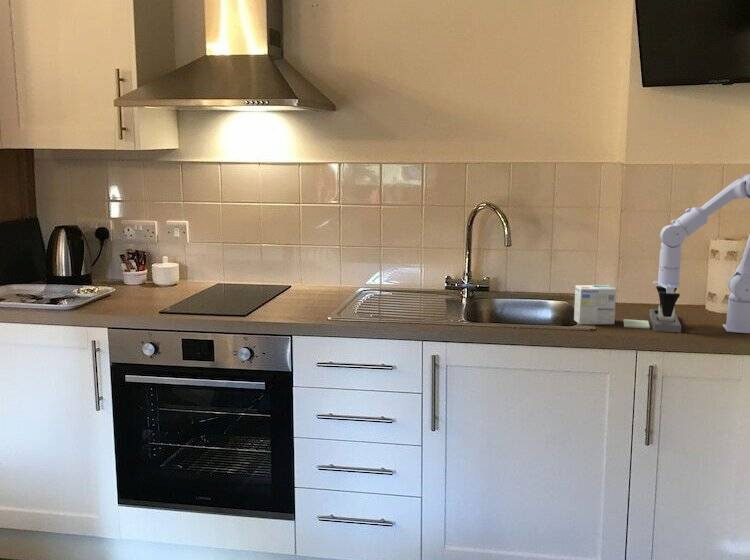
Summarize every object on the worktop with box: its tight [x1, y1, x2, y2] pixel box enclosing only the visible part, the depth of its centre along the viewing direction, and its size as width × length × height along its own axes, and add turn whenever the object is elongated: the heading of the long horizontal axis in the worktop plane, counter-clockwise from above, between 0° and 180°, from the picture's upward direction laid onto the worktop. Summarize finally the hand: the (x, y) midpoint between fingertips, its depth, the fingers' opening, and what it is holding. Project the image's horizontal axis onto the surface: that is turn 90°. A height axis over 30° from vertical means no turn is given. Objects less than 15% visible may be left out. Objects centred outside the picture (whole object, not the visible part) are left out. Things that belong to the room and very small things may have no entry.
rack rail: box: [648, 308, 682, 334], centre depth 234 cm, size 7×21×2 cm, turn 165°
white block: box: [658, 304, 676, 322], centre depth 231 cm, size 4×4×6 cm
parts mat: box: [622, 318, 651, 329], centre depth 233 cm, size 7×8×1 cm
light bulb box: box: [573, 284, 617, 325], centre depth 235 cm, size 11×7×11 cm, turn 92°
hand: (665, 313), depth 231 cm, fingers open, 7 cm apart
